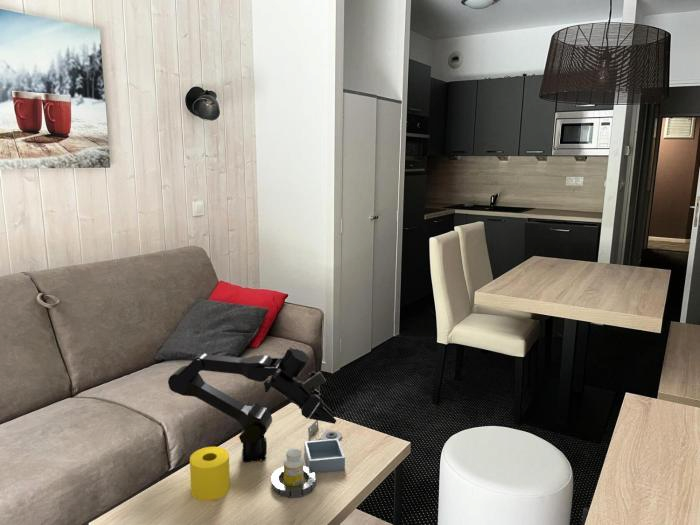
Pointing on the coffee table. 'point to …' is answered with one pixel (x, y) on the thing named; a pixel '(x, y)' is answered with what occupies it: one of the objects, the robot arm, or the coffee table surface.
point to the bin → (324, 455)
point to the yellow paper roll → (209, 473)
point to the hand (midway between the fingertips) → (334, 419)
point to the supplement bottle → (293, 468)
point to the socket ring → (293, 491)
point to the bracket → (327, 433)
